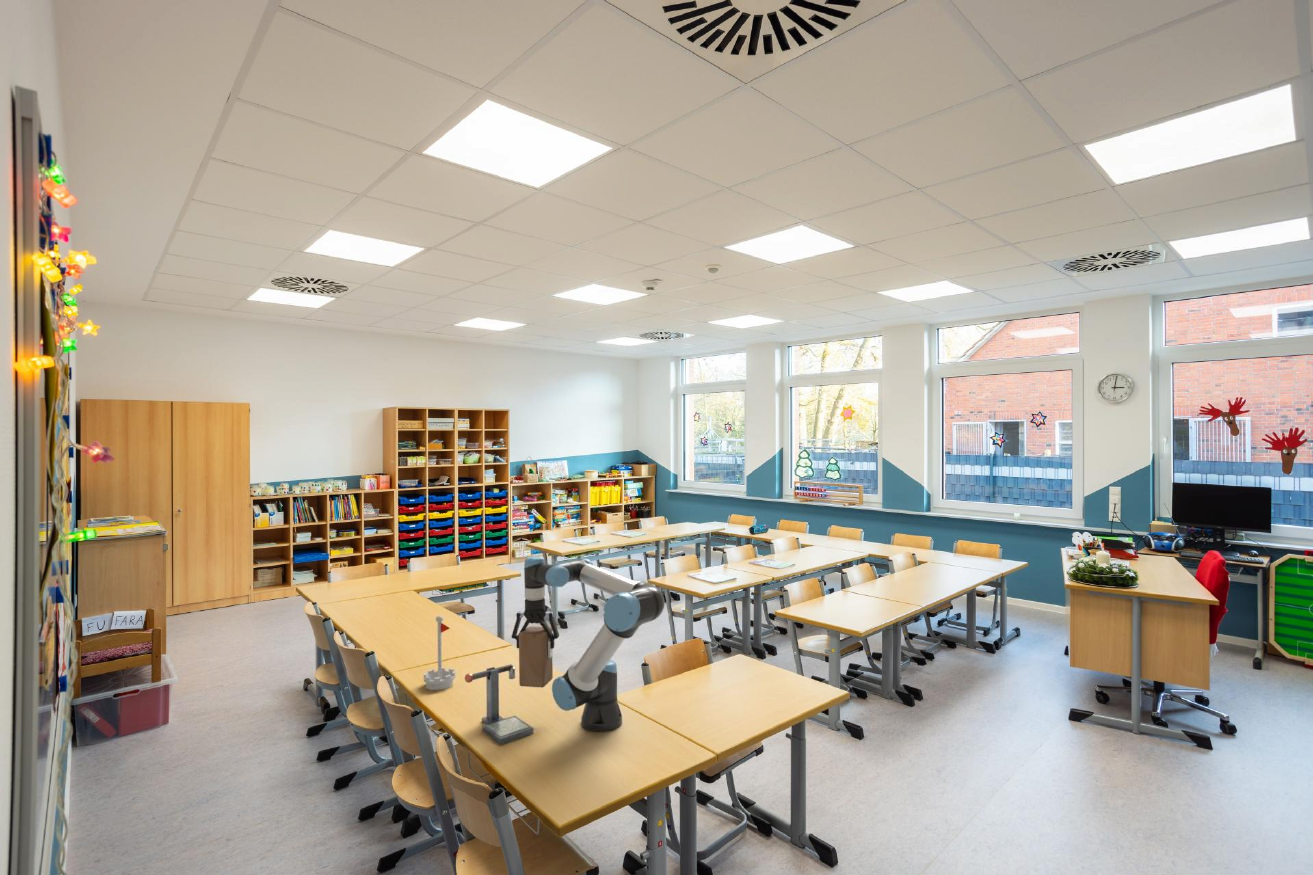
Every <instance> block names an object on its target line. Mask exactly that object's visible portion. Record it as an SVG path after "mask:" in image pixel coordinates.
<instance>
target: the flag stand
mask: <svg viewBox="0 0 1313 875" xmlns="http://www.w3.org/2000/svg"><path fill="white" fill-rule="evenodd" d="M443 620H444V618H443V616H442V615H437V616H436V617H435V621H436V623H437V670H436V671H435V669H434V668H433V669H430V670H428V672H424V674H423V682H424V683H425V685H426V686H425V687H426V689H428V690H430V691H441V690H445V689H446V690H447V689H449V688H451V687H452V686H453V685H454V680H455V678H456V675H457V674H456V670H455V668H452V667H449V668H448V669H446V667H443V666H442V663H443V662H442V655H443V654H442V633H444V632H445V631H448V630H449V629H451V627H449V626H447V625H446V624H444V623H443Z"/></svg>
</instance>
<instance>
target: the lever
mask: <svg viewBox="0 0 1313 875" xmlns="http://www.w3.org/2000/svg"><path fill="white" fill-rule="evenodd" d="M496 669H498V670H499V674H501V673H506V672H508V679H509V680H513V679H514V680H515V678H516V667H515V666H514V665H513V664H511V663H510V664H507V665H504V666H499V667H495V669H491V670H487V671H486V670H483V671H479V672H476V673H466V674H465V676H464V681H465V682H466V683H468V684H469V683H472V682H473V681H475V680H479V679H482V678H485V677H487V676H490V671H493V670H496Z"/></svg>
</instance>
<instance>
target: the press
mask: <svg viewBox="0 0 1313 875" xmlns="http://www.w3.org/2000/svg"><path fill="white" fill-rule="evenodd" d="M495 668H496V667H494V666H492V667H487V668H486V669H485V671H487V670H491V669H495ZM499 674H500V673H499V670H498V669H496V670H493V671H490V676H487V677H486V681H485V682H486V716H484V717H481V722H482V723H484V725H482V726H481V729H482V732H483V733H484V734H485V735H486V736H488V737H489V738H490V739H491V740H493V741H494V742H496V743H497V744H498V745H500V746H501V745H505V744H507V743H510V742H513V741H517V740H519V739H522V738H524V737H525V738H526V737H528V736H530V735H533V734H534V727H532V726H531V725H530V724H528V723H527V722H525V721H524V720H523V719H521V718H519V717H518V716H516V715H512V716H509V717H506V718H504V717H503V716H501V715H500V703H499V702H500V694H499V692H500V691H499V687H500V686H499V684H500V682H499V681H500V680H499V677H500V676H499Z"/></svg>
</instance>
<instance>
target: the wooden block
mask: <svg viewBox="0 0 1313 875" xmlns="http://www.w3.org/2000/svg"><path fill="white" fill-rule="evenodd" d="M549 628H550V630H551V631H552V628H551V626H549ZM519 632H520V631H519ZM552 632H553V631H552ZM518 634H519V648H518V669H519V670H518V672H519V674H518V675H519V676H518V678H519V680H518V682H519V686H520V687H529V688H545V687H546V685H548V684H549V682H551V681H552V679H553V678H554V677H553V676H554V675H553V671H554V670H553V656H552V657H551V658H548V640H549V637H548V635H547V632H546V631H545V630H544V629H543V627H542V626H532V625H531V626H530V625H529V626H527V628H526V629H525V630H524V631H522V632H520V633H518Z"/></svg>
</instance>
